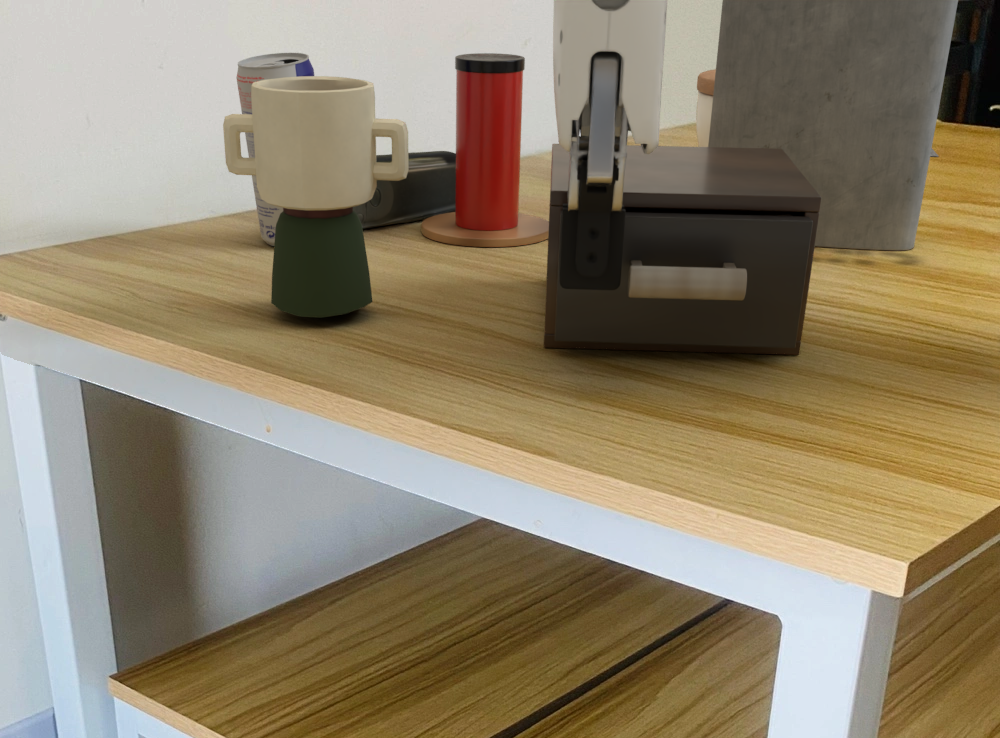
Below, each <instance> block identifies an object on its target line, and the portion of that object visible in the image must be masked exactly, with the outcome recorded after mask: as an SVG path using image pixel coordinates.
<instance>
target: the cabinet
mask: <svg viewBox="0 0 1000 738" xmlns="http://www.w3.org/2000/svg"><path fill="white" fill-rule="evenodd" d="M626 152H627V158H626V163H625V176H624V189H623V201H622V205H624V207H625V208H662V209H703V210H744V211H785V212H791V214H792V216H802V217H810V218H811V220H812V221H813V226H812V233H811V240H810V247H809V254H808V261H807V268H806V275H805V283H804V290H803V297H802V304H801V311H800V318H799V325H798V333H797V340H796V347H795V348H774V347H739V346H705V345H671V344H636V343H602V342H568V341H555V320H556V298H557V277H558V256H559V235H560V214H561V211H562V209H563V204H568V202H567V198H568V176H569V154H570V152H568V151H566V150H565V149H564V148H563V147H562V146H561V145H560V144H559V143H552V144H551V165H550V167H551V168H550V185H549V186H550V187H549V188H550V191H549V211H548V221H549V232H548V239H547V255H546V257H547V258H546V259H547V261H546V281H545V305H544V330H543V332H544V333H543V348H545V349H547V348H548V349H582V350H583V349H584V350H610V351H611V350H612V351H613V350H614V351H615V350H616V351H645V352H646V351H648V352H651V351H652V352H679V353H680V352H681V353H682V352H684V353H715V354H716V353H717V354H718V353H719V354H747V355H748V354H750V355H752V354H753V355H784V356H785V355H786V356H788V355H789V356H799V355H800V354H801V353H800V352H801V346H802V339H803V331H804V325H805V317H806V311H807V304H808V295H809V289H810V283H811V274H812V268H813V263H814V262H813V261H814V255H815V254H814V253H815V247H816V246H815V241H816V234H817V227H818V220H819V211H820V205H821V196H820V195H819V194H818V193H817V191H816V190H815V189H814V188H813V187H812V185H811V184H810V183H809V182H808V180H807V179H806V178H805V177H804V175H803V174H802V173H801V172H800V170H799V169H798V168H797V167H796V166H795V164H794V163H793V162H792V161H791V159H790V158H789V157H788V156H787V154H786V153H785V152H784V151H783V149H773V148H728V147H698V146H681V145H679V146H678V145H677V146H676V145H675V146H674V145H658V147H657V148H656V149H655V150H654V151H653V152H652V153H650V154H644V152H643V149H642V146H641V145H638V144H636V145H630V144H629V145H628V144H627V151H626Z"/></svg>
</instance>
